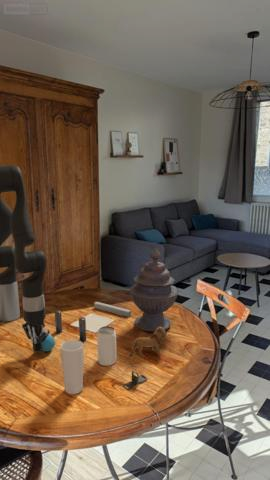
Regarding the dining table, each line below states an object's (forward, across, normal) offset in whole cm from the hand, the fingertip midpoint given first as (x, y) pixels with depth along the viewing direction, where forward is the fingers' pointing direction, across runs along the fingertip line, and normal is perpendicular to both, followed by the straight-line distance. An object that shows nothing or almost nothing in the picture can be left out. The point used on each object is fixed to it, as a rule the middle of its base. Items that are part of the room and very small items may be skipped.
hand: (37, 351), depth 126 cm
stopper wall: (+1, -1, +45) cm, 45 cm away
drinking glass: (+2, +26, -7) cm, 27 cm away
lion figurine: (+2, +33, +24) cm, 41 cm away
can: (+2, +24, +11) cm, 26 cm away
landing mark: (+1, -1, +31) cm, 31 cm away
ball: (-2, +1, +4) cm, 4 cm away
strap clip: (+2, +39, +6) cm, 40 cm away
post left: (+1, -7, +17) cm, 18 cm away
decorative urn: (+1, +23, +44) cm, 49 cm away
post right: (+1, +6, +17) cm, 18 cm away
